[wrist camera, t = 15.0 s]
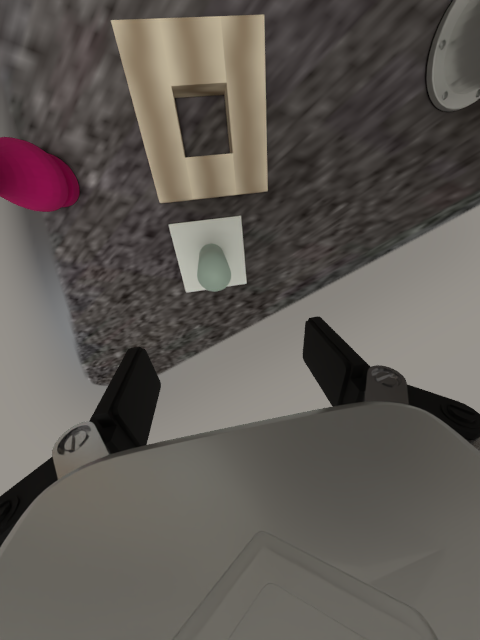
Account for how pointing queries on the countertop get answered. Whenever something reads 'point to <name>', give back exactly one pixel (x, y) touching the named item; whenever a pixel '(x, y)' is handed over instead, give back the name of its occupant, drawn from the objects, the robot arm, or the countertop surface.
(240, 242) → the mat
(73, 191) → the pepper mill
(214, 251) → the peg
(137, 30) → the wooden square frame
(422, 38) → the countertop surface
